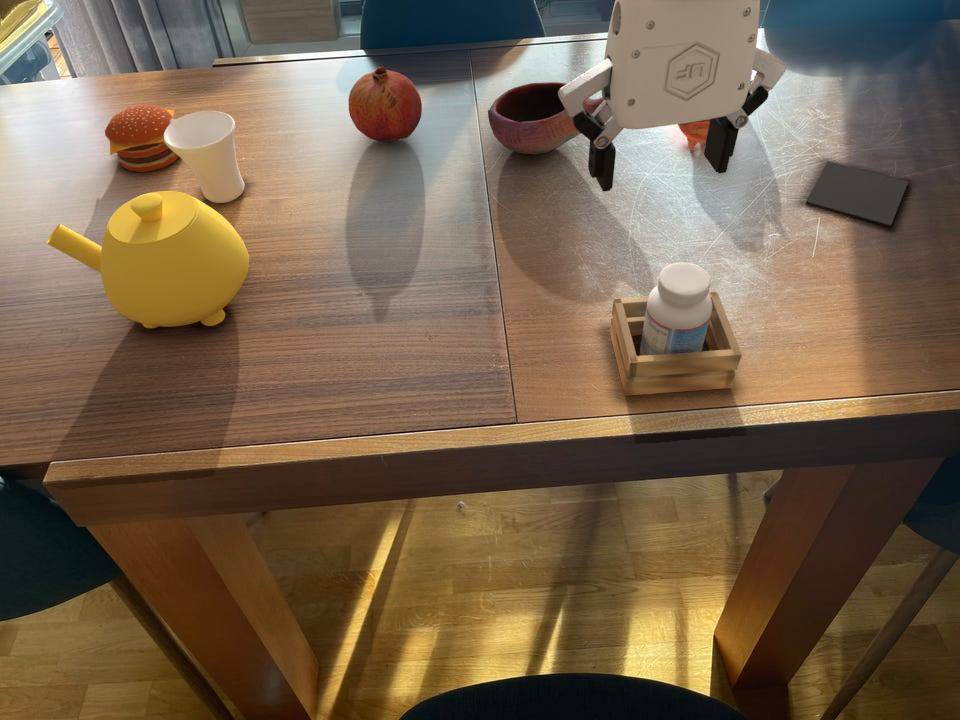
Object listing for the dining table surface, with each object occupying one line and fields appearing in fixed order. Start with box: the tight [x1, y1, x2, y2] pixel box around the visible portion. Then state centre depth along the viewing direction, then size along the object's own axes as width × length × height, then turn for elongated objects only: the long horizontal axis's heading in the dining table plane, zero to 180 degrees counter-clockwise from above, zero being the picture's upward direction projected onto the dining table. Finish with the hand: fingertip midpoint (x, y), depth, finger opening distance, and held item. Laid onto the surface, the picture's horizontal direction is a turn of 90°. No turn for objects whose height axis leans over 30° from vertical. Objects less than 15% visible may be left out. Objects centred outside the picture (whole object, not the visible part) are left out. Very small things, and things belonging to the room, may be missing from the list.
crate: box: [609, 290, 743, 397], centre depth 74 cm, size 11×9×5 cm
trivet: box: [805, 160, 909, 228], centre depth 93 cm, size 10×10×1 cm
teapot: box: [46, 190, 250, 329], centre depth 81 cm, size 20×16×14 cm
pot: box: [677, 119, 710, 150], centre depth 100 cm, size 8×8×7 cm
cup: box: [164, 110, 246, 204], centre depth 96 cm, size 9×9×10 cm
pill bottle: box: [639, 261, 712, 356], centre depth 72 cm, size 6×6×11 cm
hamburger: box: [104, 104, 180, 173], centre depth 104 cm, size 9×10×7 cm
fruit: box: [348, 66, 423, 142], centre depth 103 cm, size 11×10×10 cm
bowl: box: [487, 81, 604, 155], centre depth 101 cm, size 16×13×8 cm
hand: (658, 172), depth 61 cm, fingers open, 9 cm apart
